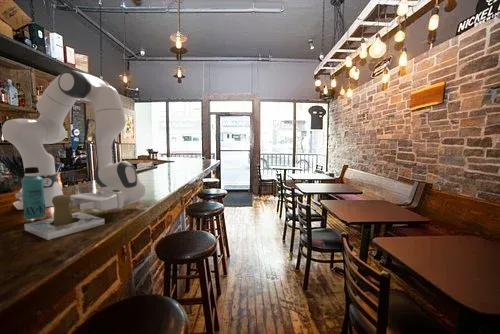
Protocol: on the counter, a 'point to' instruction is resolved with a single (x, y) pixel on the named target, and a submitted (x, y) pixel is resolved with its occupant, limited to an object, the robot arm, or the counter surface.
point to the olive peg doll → (62, 210)
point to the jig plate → (63, 226)
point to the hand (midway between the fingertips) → (70, 205)
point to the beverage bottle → (33, 195)
